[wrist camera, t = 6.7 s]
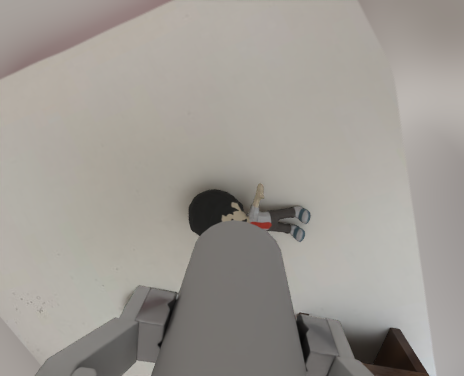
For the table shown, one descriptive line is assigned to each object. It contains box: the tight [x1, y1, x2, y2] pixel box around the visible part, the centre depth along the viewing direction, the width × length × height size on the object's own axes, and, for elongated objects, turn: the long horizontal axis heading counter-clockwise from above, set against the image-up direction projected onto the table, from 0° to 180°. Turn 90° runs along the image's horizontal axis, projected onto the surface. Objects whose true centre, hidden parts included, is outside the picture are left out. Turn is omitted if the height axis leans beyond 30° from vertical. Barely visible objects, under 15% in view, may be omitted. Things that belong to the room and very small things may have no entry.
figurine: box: [189, 183, 311, 242], centre depth 34 cm, size 10×7×15 cm
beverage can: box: [151, 220, 307, 376], centre depth 9 cm, size 5×5×12 cm
